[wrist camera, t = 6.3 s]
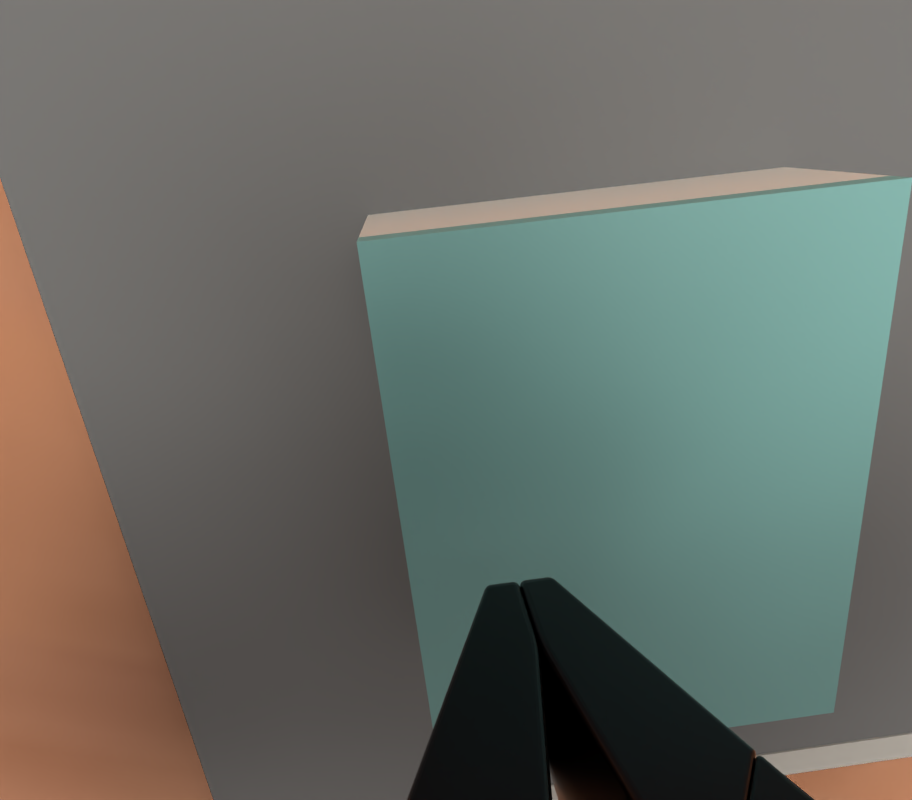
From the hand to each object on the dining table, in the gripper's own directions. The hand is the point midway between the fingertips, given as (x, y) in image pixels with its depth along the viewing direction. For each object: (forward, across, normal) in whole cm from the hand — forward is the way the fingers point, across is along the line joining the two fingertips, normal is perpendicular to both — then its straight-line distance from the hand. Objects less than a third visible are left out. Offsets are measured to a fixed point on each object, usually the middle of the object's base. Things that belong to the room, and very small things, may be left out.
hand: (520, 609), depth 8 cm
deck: (+3, +1, 0) cm, 3 cm away
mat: (+5, -2, 0) cm, 5 cm away
